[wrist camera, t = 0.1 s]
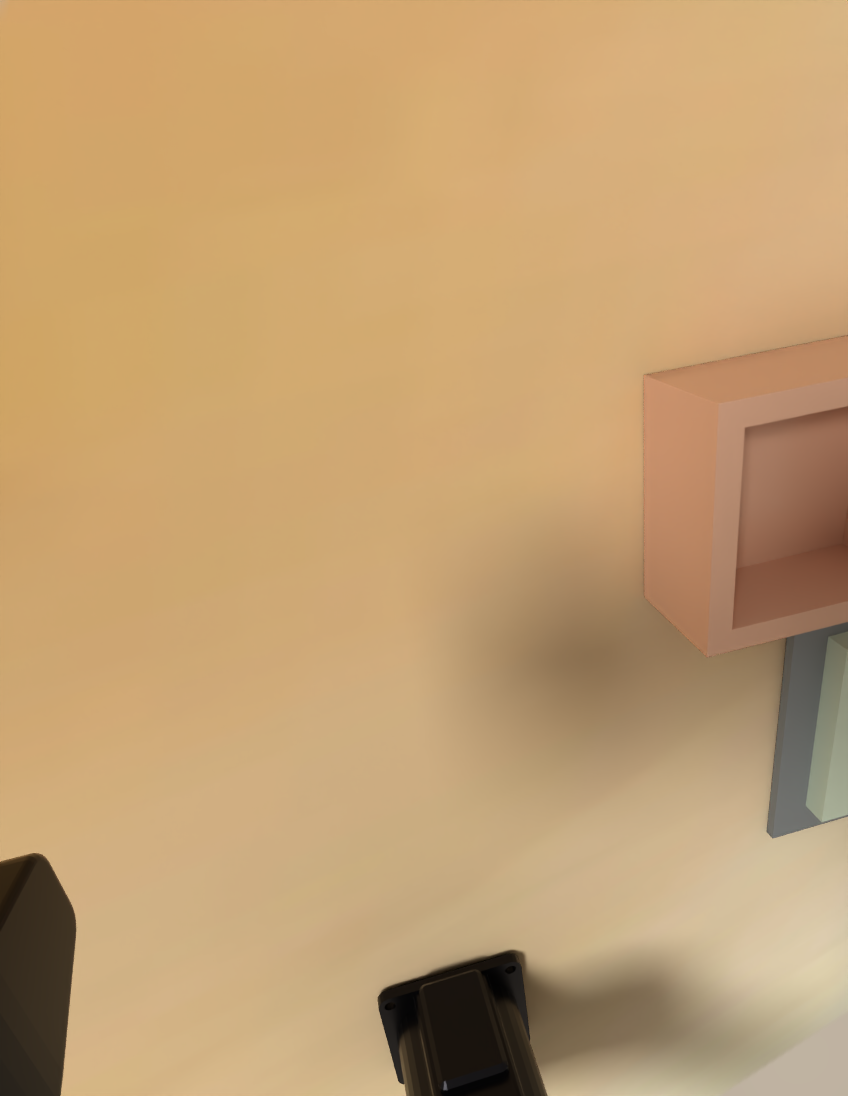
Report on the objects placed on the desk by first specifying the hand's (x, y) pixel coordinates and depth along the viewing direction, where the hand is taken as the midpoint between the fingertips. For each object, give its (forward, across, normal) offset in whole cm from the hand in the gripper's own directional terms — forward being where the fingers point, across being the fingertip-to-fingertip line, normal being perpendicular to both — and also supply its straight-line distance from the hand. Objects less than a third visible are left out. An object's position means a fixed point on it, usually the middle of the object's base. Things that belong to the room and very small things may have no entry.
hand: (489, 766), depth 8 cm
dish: (+15, -13, +4) cm, 20 cm away
